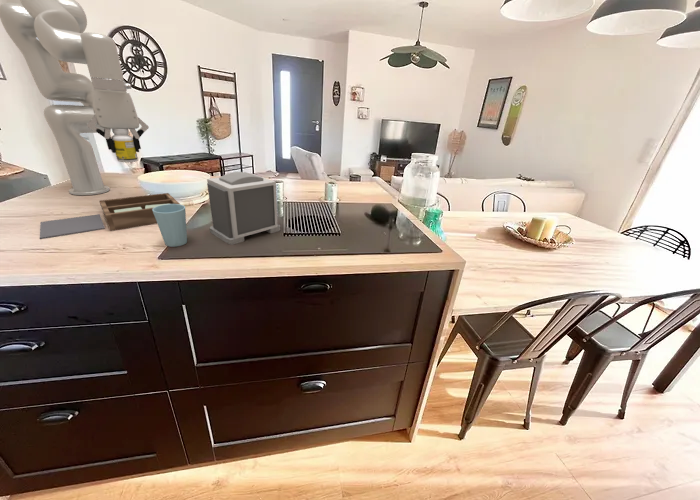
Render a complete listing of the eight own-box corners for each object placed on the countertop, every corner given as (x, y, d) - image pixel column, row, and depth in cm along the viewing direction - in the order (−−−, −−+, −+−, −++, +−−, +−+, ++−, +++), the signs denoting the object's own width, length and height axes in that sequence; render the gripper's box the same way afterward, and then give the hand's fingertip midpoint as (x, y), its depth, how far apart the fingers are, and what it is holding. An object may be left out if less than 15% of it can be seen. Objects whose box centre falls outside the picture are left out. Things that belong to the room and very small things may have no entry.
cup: (173, 235, 87) (166, 202, 83) (197, 239, 86) (191, 205, 82) (154, 246, 81) (145, 210, 76) (179, 250, 80) (171, 214, 75)
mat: (41, 223, 88) (40, 221, 88) (99, 215, 97) (99, 214, 97) (40, 239, 79) (39, 237, 79) (105, 228, 88) (104, 227, 88)
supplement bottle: (113, 161, 92) (104, 127, 87) (130, 158, 96) (122, 126, 92) (125, 163, 90) (117, 129, 86) (142, 161, 95) (135, 128, 90)
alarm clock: (259, 219, 105) (256, 167, 97) (282, 230, 97) (280, 175, 89) (208, 231, 92) (200, 173, 84) (230, 245, 85) (222, 182, 76)
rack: (103, 215, 98) (99, 200, 95) (170, 205, 110) (168, 193, 108) (110, 231, 87) (105, 215, 85) (183, 219, 100) (181, 204, 97)
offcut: (117, 223, 93) (113, 210, 91) (143, 219, 97) (140, 206, 95) (119, 227, 90) (115, 213, 88) (146, 223, 94) (142, 210, 92)
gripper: (142, 89, 92) (154, 149, 100) (68, 82, 81) (89, 150, 89) (147, 89, 87) (159, 152, 95) (70, 83, 76) (91, 154, 84)
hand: (125, 151), depth 92 cm, fingers closed on supplement bottle, 5 cm apart
